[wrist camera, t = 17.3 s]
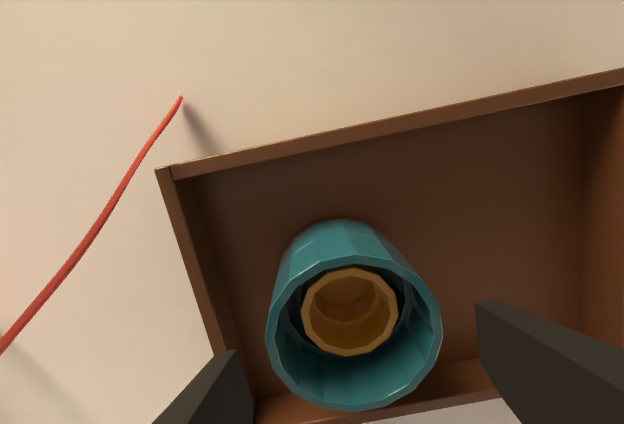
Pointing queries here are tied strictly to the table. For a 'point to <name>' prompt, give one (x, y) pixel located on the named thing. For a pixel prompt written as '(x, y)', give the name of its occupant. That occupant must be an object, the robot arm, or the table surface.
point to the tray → (421, 226)
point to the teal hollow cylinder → (363, 367)
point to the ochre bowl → (348, 309)
